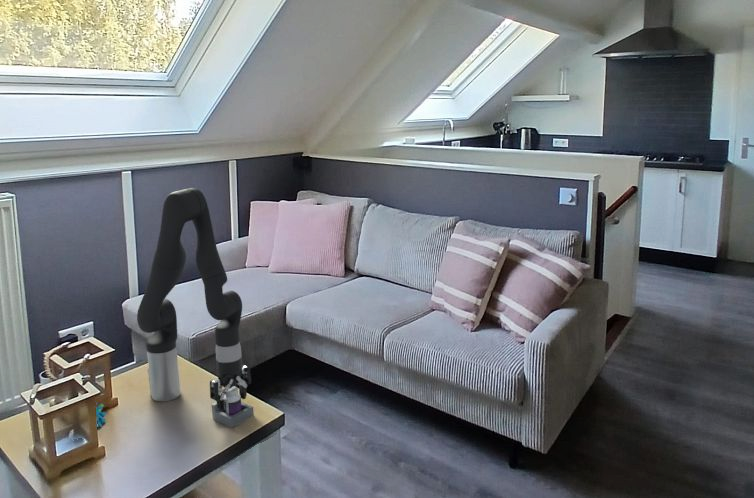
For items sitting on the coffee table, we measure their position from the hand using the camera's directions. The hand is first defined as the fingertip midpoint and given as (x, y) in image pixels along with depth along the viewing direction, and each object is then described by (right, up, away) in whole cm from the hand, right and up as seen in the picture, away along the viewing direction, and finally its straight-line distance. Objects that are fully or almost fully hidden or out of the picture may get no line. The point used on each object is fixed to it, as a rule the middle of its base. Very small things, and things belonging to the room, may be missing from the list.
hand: (232, 403), depth 192 cm
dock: (0, -4, +1) cm, 5 cm away
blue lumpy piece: (-43, -6, -2) cm, 43 cm away
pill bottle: (0, -5, +1) cm, 5 cm away
